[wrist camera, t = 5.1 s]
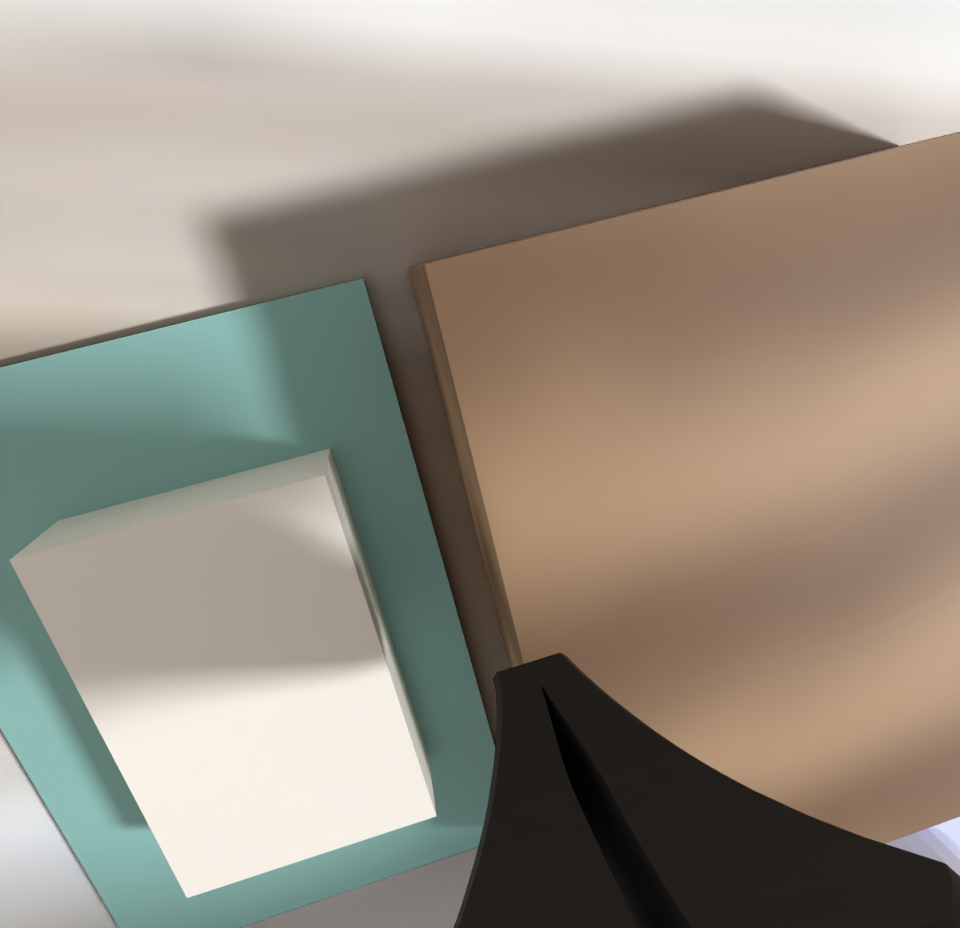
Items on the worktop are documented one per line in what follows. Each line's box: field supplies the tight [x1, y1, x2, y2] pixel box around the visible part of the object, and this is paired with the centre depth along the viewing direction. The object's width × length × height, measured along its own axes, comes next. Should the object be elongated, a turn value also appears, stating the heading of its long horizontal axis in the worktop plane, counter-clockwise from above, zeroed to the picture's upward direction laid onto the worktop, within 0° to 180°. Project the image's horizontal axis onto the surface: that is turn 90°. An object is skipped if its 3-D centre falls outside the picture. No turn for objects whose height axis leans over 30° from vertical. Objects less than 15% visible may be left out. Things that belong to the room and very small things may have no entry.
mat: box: [0, 278, 495, 928], centre depth 16 cm, size 16×11×1 cm
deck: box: [408, 132, 960, 844], centre depth 15 cm, size 16×12×4 cm
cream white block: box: [10, 449, 436, 898], centre depth 14 cm, size 9×6×2 cm, turn 13°
